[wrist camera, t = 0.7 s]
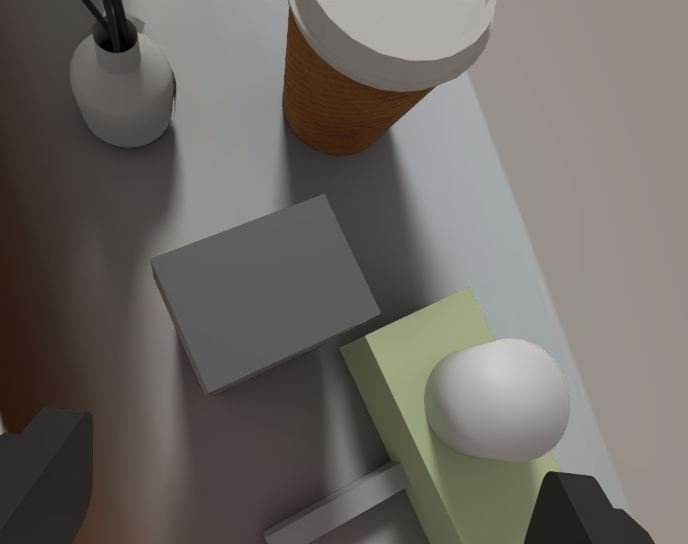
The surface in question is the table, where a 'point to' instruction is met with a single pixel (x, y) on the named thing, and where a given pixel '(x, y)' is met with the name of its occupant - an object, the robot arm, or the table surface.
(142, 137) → the reed diffuser
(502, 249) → the table surface
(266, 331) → the grey lidded box
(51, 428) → the robot arm
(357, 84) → the disposable coffee cup
